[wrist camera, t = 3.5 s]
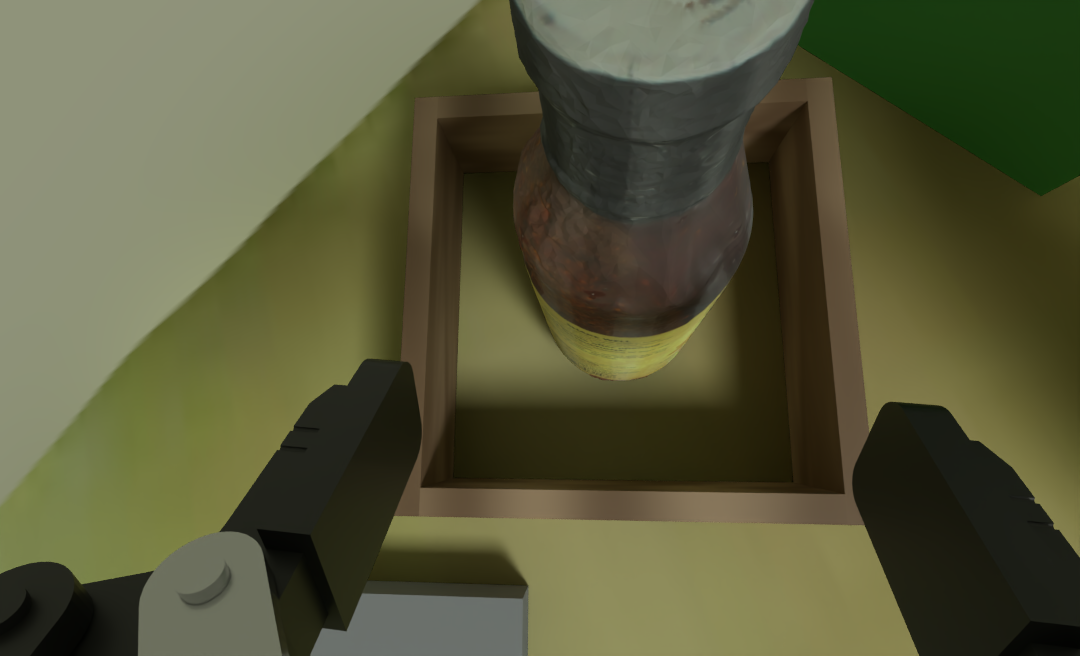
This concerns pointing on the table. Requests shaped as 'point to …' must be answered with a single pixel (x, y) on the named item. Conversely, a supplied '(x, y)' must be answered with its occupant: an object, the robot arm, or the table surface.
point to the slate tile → (433, 621)
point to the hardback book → (969, 73)
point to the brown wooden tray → (805, 307)
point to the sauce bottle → (640, 165)
